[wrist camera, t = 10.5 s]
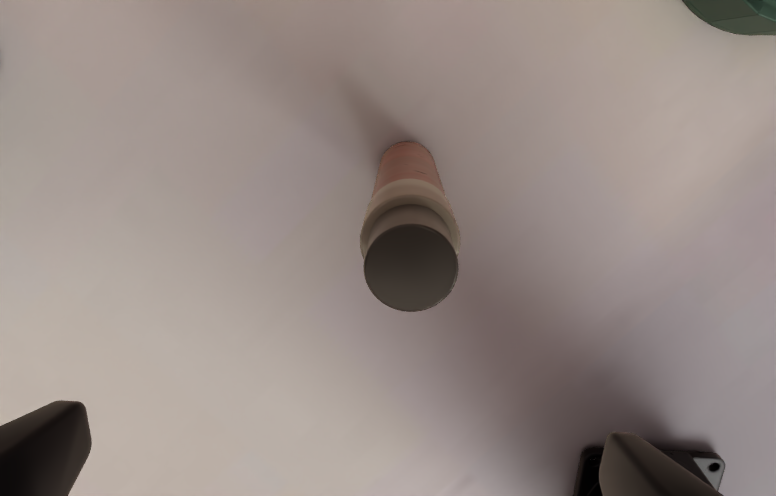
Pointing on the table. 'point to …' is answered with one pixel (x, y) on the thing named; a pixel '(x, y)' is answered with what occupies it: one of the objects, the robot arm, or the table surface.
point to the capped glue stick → (409, 232)
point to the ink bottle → (737, 15)
